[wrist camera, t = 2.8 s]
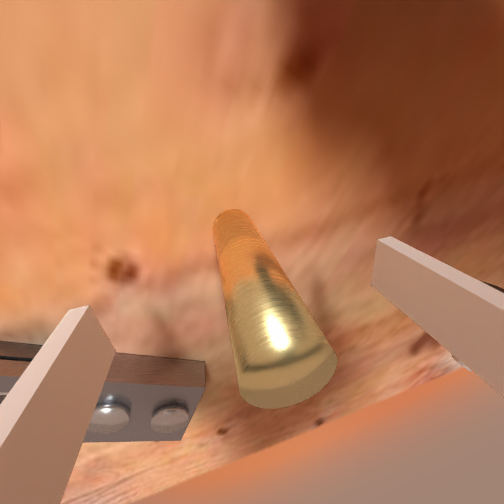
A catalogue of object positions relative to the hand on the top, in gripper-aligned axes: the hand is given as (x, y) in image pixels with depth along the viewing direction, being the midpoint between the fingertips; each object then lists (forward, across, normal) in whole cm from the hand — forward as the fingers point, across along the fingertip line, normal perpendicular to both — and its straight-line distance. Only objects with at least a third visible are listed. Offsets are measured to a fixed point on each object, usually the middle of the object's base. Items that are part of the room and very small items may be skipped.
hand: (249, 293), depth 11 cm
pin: (+7, 0, 0) cm, 7 cm away
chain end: (+8, -15, -11) cm, 20 cm away
